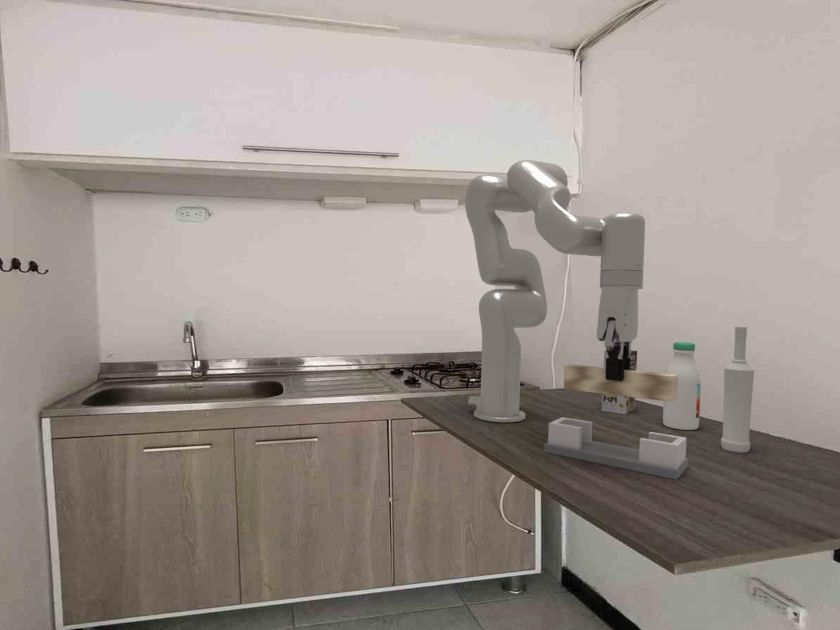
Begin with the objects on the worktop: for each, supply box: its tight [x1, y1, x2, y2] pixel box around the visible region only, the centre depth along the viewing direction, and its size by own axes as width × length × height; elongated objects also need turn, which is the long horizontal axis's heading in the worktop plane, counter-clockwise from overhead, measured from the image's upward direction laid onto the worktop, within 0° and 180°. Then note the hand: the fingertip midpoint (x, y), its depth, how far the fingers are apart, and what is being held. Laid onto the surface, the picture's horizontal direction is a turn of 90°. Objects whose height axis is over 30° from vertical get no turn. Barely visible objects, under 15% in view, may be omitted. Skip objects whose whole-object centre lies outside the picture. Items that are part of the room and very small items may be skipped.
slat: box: [563, 364, 678, 402], centre depth 102 cm, size 20×3×4 cm, turn 53°
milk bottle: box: [662, 341, 701, 431], centre depth 129 cm, size 8×8×20 cm
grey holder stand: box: [543, 416, 690, 481], centre depth 103 cm, size 24×9×6 cm, turn 53°
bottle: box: [720, 326, 755, 454], centre depth 111 cm, size 5×5×25 cm
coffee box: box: [601, 349, 638, 415], centre depth 146 cm, size 9×6×16 cm
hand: (617, 378), depth 102 cm, fingers closed on slat, 3 cm apart
